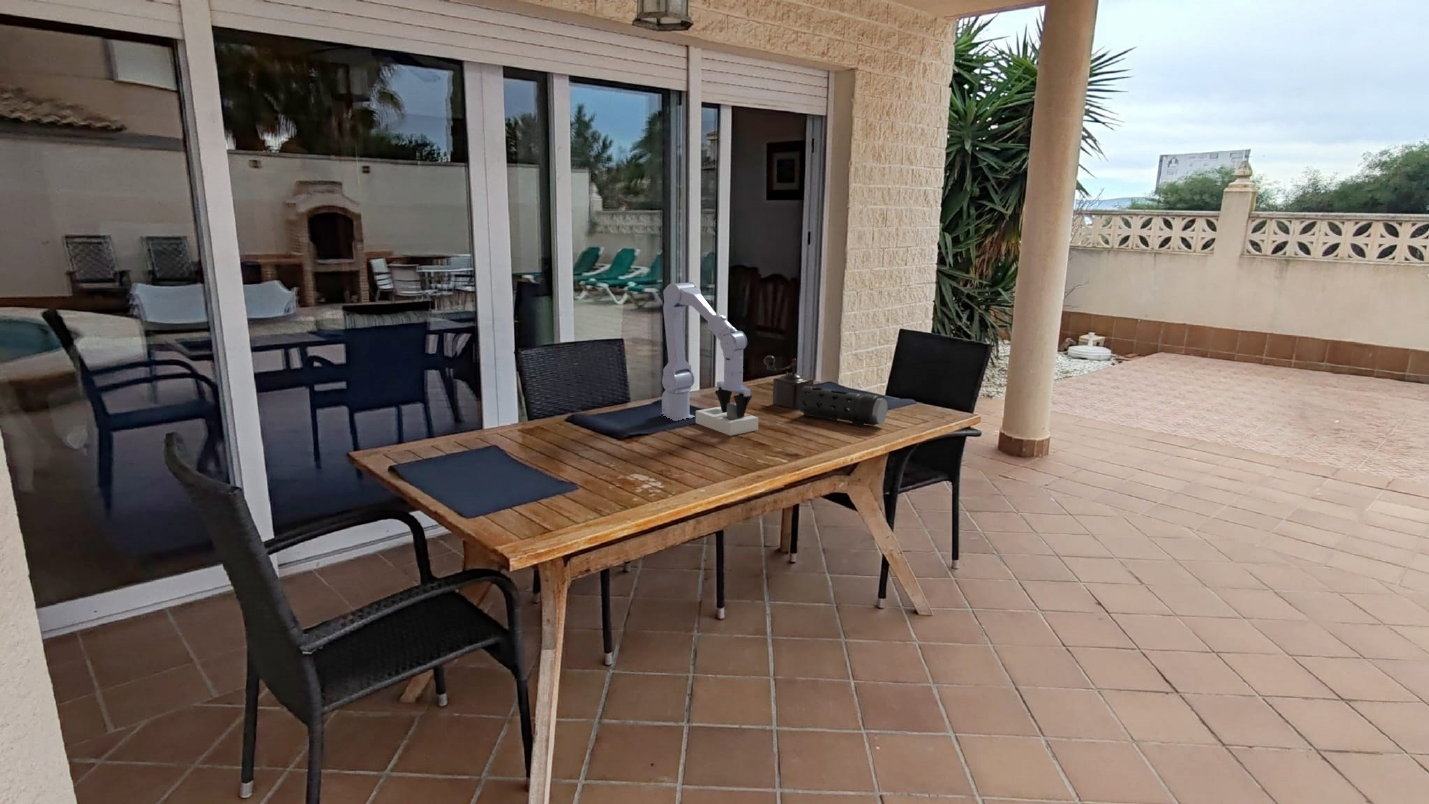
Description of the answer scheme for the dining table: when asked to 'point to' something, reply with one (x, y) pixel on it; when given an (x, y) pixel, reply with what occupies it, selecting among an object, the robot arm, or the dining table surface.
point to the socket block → (726, 421)
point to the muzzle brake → (842, 405)
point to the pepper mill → (787, 385)
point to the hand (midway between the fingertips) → (732, 414)
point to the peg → (732, 411)
